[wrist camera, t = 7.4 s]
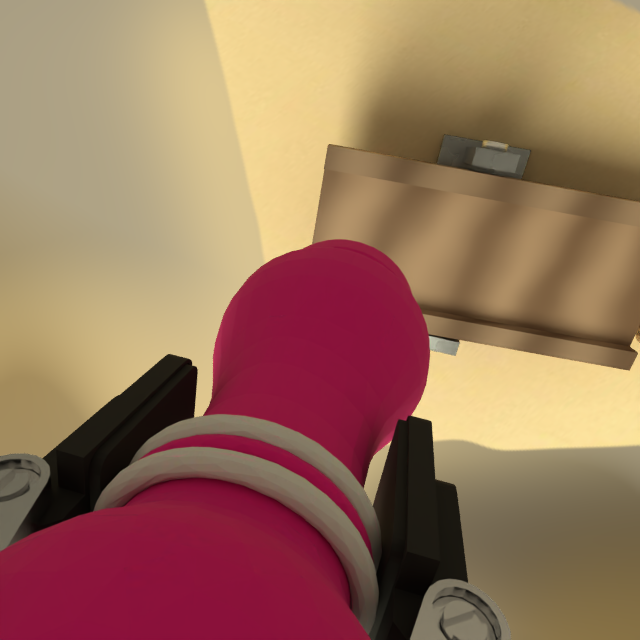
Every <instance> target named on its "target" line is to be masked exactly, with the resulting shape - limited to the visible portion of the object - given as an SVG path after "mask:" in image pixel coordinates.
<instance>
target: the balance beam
mask: <svg viewBox="0 0 640 640" xmlns="http://www.w3.org/2000/svg"><path fill="white" fill-rule="evenodd" d="M324 169H325V170H324V176H323V182H322V188H321V194H320V200H319V206H318V212H317V218H316V224H315V230H314V236H313V242H312V244H314V243H317V242H322V241H326V240H333V239H346V240H352V241H357V242H361V243H364V244H366V245H369V246H372V247H374V248H376V249H377V250H379V251H381V252H382V253H384V254H385V255H387V256H388V257H389V258H390V259H391V260H392V261H393V262H394V263H395V264H396V265H397V266H398V267H399V268H400V270H401V271H402V273H403V274H404V275H405V277H406V279H407V281H408V283H409V286H410V288H411V291H412V295H413V297H414V298H415V300H416V302H417V303H418V305H419V307H420V309H421V311H422V314H423V316H424V319H425V322H426V324H427V329H428V334H430V335H436V336H441V337H447V338H453V339H458V340H464V341H469V342H475V343H480V344H486V345H491V346H497V347H502V348H508V349H513V350H519V351H524V352H530V353H536V354H541V355H547V356H552V357H558V358H563V359H569V360H574V361H580V362H585V363H591V364H596V365H602V366H607V367H613V368H619V369H624V370H630V368H631V366H632V364H633V362H634V360H635V358H636V356H637V354H638V353H637V352H636V351H635V350H634V349H632V348H631V347H630V345H631V343H632V340H633V338H634V336H635V334H636V332H637V330H638V328H639V326H640V201H635V200H629V199H624V198H619V197H613V196H608V195H602V194H597V193H592V192H586V191H581V190H575V189H570V188H565V187H559V186H554V185H548V184H543V183H538V182H532V181H527V180H521V179H516V178H511V177H505V176H500V175H494V174H489V173H484V172H478V171H473V170H467V169H462V168H456V167H451V166H446V165H440V164H435V163H429V162H424V161H419V160H413V159H408V158H402V157H397V156H392V155H386V154H381V153H375V152H370V151H365V150H359V149H354V148H348V147H343V146H338V145H332V144H329V145H328V148H327V154H326V160H325V166H324Z"/></svg>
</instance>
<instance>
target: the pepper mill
mask: <svg viewBox="0 0 640 640" xmlns="http://www.w3.org/2000/svg"><path fill="white" fill-rule="evenodd" d="M429 359H430V339H429V334H428V329H427V324H426V322H425V319H424V316H423V314H422V311H421V309H420V307H419V305H418V303H417V302H416V300H415V298H414V297H413V295H412V291H411V288H410V286H409V283H408V281H407V279H406V277H405V275H404V274H403V273H402V271H401V270H400V268H399V267H398V266H397V265H396V264H395V263H394V262H393V261H392V260H391V259H390V258H389V257H388V256H387V255H385V254H384V253H382V252H381V251H379V250H377V249H376V248H374V247H372V246H369V245H366V244H364V243H361V242H357V241H352V240H346V239H333V240H326V241H322V242H317V243H314V244H312V245H310V246H307V247H305V248H304V249H301V250H296V251H291V252H289V253H286V254H284V255H281V256H279V257H276V258H274V259H272V260H271V261H269V262H268V263H266V264H264V265H263V266H261V267H260V268H259V269H258V270H257V271H256V272H254V273H253V274H252V275H251V276H250V277H249V278H248V279H247V281H246V282H245V283H244V284H243V286H242V287H241V288H240V289H239V291H238V292H237V293H236V294H235V296H234V297H233V298H232V300H231V302H230V304H229V306H228V307H227V309H226V311H225V313H224V316H223V319H222V322H221V325H220V328H219V332H218V335H217V338H216V342H215V348H214V354H213V389H212V399H211V401H210V404H209V407H208V408H207V410H206V412H205V413H204V415H203V416H201V417H195V418H191V419H187V420H183V421H180V422H177V423H175V424H173V425H171V426H169V427H166V428H165V429H163V430H162V431H160V432H159V433H157V434H156V435H154V436H153V437H151V438H150V439H148V440H147V441H146V443H145V444H144V445H143V446H142V447H141V448H140V449H139V450H138V451H137V452H136V454H135V456H134V457H133V459H132V461H131V463H130V465H129V466H128V467H126V468H125V469H123V470H122V471H120V472H119V473H118V475H117V476H116V477H115V478H114V479H113V480H112V481H111V482H110V483H109V484H108V485H107V486H106V488H105V489H104V490H103V491H102V493H101V495H100V497H99V498H98V500H97V502H96V505H95V508H94V511H93V512H90V513H87V514H83V515H79V516H76V517H74V518H71V519H69V520H66V521H64V522H61V523H58V524H56V525H53V526H51V527H48V528H45V529H43V530H40V531H38V532H35V533H33V534H30V535H29V536H27V537H25V538H23V539H21V540H20V541H18V542H16V543H14V544H12V545H11V546H9V547H7V548H5V549H3V550H2V551H0V640H371V639H370V637H369V636H368V635H369V633H370V631H371V629H372V627H373V624H374V622H375V619H376V613H377V607H378V599H379V589H378V582H377V577H376V573H377V569H378V566H379V562H380V558H381V554H382V543H381V530H380V525H379V521H378V518H377V516H376V513H375V510H374V508H373V506H372V504H371V502H370V500H369V498H368V496H367V494H366V492H365V491H364V485H365V481H366V477H367V473H368V468H369V464H370V462H371V460H372V458H373V456H374V455H375V454H376V453H377V452H378V451H379V450H380V449H382V448H383V447H384V446H385V445H387V444H388V443H389V442H390V441H391V440H392V438H393V435H394V431H395V428H396V424H397V421H398V419H401V420H405V421H406V419H407V417H408V415H409V416H411V415H412V413H413V412H414V410H415V408H416V407H417V405H418V403H419V401H420V400H421V397H422V394H423V392H424V389H425V386H426V382H427V375H428V369H429Z"/></svg>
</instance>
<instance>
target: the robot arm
mask: <svg viewBox="0 0 640 640" xmlns="http://www.w3.org/2000/svg"><path fill="white" fill-rule="evenodd" d="M196 385H197V367H195V366H192V361H191V360H190V359H187V358H183V357H179V356H176V355H171V354H168V355H166V356H165V357H164V358H163V359H161V360H160V361H159V362H158V363H157V364H156V365H154V366H153V367H152V368H151V369H150V370H149V371H147V372H146V373H145V374H144V375H143V376H142V377H140V378H139V379H138V380H137V381H136V382H135V383H133V384H132V385H131V386H130V387H129V388H127V389H126V390H125V391H124V392H123V393H122V394H120V395H118V396H116V397H115V398H113V399H112V400H111V401H110V402H108V403H107V404H106V405H105V406H104V407H102V408H101V409H100V410H99V411H98V412H97V413H95V414H94V415H93V416H92V417H91V418H90V419H89V420H87V421H86V422H85V423H84V424H82V425H81V426H80V427H79V428H78V429H77V430H75V431H74V432H73V433H72V434H71V435H69V436H68V437H67V438H66V439H65V440H64V441H62V442H61V443H60V444H59V445H58V446H56V448H54V449H53V450H52V451H51V452H50V453H48V454H47V455H46V456H45V457H44V458H40V457H38V456H36V455H30V454H9V455H4V456H0V551H2V550H3V549H5V548H7V547H9V546H11V545H12V544H14V543H16V542H18V541H20V540H21V539H23V538H25V537H27V536H29V535H30V534H33V533H35V532H38V531H40V530H43V529H45V528H48V527H51V526H53V525H56V524H58V523H61V522H64V521H66V520H69V519H71V518H74V517H76V516H79V515H83V514H87V513H90V512H93V511H94V508H95V505H96V502H97V500H98V498H99V497H100V495H101V493H102V491H103V490H104V489H105V488H106V486H107V485H108V484H109V483H110V482H111V481H112V480H113V479H114V478H115V477H116V476H117V475H118V473H119V472H120V471H122V470H123V469H125V468H126V467H128V466H129V465H130V463H131V461H132V459H133V457H134V456H135V454H136V452H137V451H138V450H139V449H140V448H141V447H142V446H143V445H144V444H145V443H146V441H147V440H148V439H150V438H151V437H153V436H154V435H156V434H157V433H159V432H160V431H162V430H163V429H165V428H166V427H169V426H171V425H173V424H175V423H177V422H180V421H183V420H187V419H191V418H194V411H195V398H196ZM434 468H435V467H434V452H433V436H432V423H431V421H429V420H425V419H421V418H417V417H413V416H409V415H408V417H407V419H406V421H405V420H401V419H398V421H397V424H396V428H395V431H394V435H393V438H392V442H391V445H390V448H389V452H388V455H387V459H386V462H385V466H384V470H383V473H382V476H381V479H380V483H379V487H378V490H377V493H376V497H375V500H374V504H373V508H374V510H375V513H376V516H377V518H378V521H379V525H380V530H381V543H382V554H381V558H380V562H379V566H378V569H377V573H376V577H377V582H378V589H379V599H378V607H377V613H376V619H375V622H374V624H373V627H372V629H371V631H370V633H369V635H368V636H369V637H370V639H371V640H511V632H510V629H509V626H508V623H507V621H506V618H505V616H504V615H503V613H502V612H501V610H500V609H499V607H498V606H497V604H496V603H495V602H494V601H493V600H492V599H491V598H490V597H489V596H488V595H487V594H486V593H484V592H483V591H481V590H480V589H478V588H477V587H475V586H474V585H472V584H469V583H468V578H467V571H466V562H465V554H464V546H463V538H462V530H461V522H460V513H459V506H458V497H457V491H456V486H455V485H454V484H450V483H447V482H443V481H439V480H436V479H435V469H434Z"/></svg>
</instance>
